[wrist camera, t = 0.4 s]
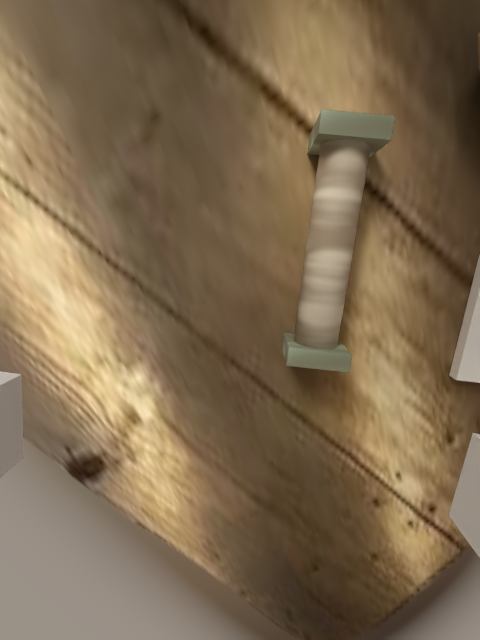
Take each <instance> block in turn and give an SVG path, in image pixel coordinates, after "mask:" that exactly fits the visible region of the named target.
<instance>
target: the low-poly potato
mask: <svg viewBox="0 0 480 640" xmlns="http://www.w3.org/2000/svg"><path fill="white" fill-rule="evenodd" d="M478 56H479V73H480V32H479V33H478Z"/></svg>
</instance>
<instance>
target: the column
mask: <svg viewBox="0 0 480 640" xmlns="http://www.w3.org/2000/svg"><path fill="white" fill-rule="evenodd" d="M395 117H396V116H389V115H378V114H366V113H355V112H344V111H333V110H321V112H320V114H319V117H318V119H317V121H316V123H315V125H314V127H313V129H312V131H311V134H310V138H309V146H308V153H307V154H311V155H319V161H318V168H317V175H316V182H315V189H314V196H313V204H312V211H311V218H310V225H309V232H308V240H307V247H306V254H305V261H304V268H303V276H302V283H301V290H300V297H299V304H298V311H297V319H296V326H295V333H294V334H292V333H284V335H283V343H282V350H283V354H284V357H285V361H286V365H287V366H294V367H303V368H312V369H321V370H330V371H339V372H349V371H350V366H351V360H352V354H351V353H350V352H349V351H348V350H347V349H346V347H345V346H344V345H343V344H342V343H341V342H340V341H339V340H338V339H339V333H340V327H341V321H342V315H343V309H344V303H345V297H346V291H347V285H348V279H349V274H350V268H351V262H352V256H353V250H354V244H355V238H356V232H357V226H358V220H359V215H360V209H361V203H362V197H363V191H364V185H365V179H366V173H367V167H368V161H369V158H370V157H371V156H372V155H374V154H375V153H376V152H377V151H378V150H380V149H381V148H382V147H383V146H385V145H386V144H387V143H388V142H389V141H391V139H392V133H393V128H394V122H395Z"/></svg>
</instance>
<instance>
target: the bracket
mask: <svg viewBox="0 0 480 640" xmlns="http://www.w3.org/2000/svg"><path fill="white" fill-rule="evenodd" d="M449 376H451V377H452V378H454V379H455V380H459V381H469V382H478V383H480V254H479V258H478V262H477V266H476V270H475V274H474V278H473V282H472V286H471V290H470V294H469V298H468V302H467V306H466V310H465V314H464V318H463V322H462V326H461V330H460V334H459V338H458V342H457V346H456V350H455V354H454V358H453V362H452V366H451V370H450V374H449Z"/></svg>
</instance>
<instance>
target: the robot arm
mask: <svg viewBox="0 0 480 640" xmlns="http://www.w3.org/2000/svg"><path fill="white" fill-rule="evenodd" d="M22 458H23V420H22V376H21V374H14V373H7V372H0V478H1V477H2V476H3V475H4V474H5V473H6V472H8V471H9V470H10V469H11V468H12V467H13V466H14V465H16V464H17V463H18V462H19V461H20V460H21V459H22ZM449 517H450V518H451V519H452V521H453V522H454V524H455V525H456V526H457V528H458V529H459V530H460V532H461V533H462V534H463V536H464V537H465V538H466V540H467V541H468V543H469V544H470V545H471V547H472V548H473V549H474V551H475V552H476V553H477V555H478V556H479V557H480V434H475V433H473V434H472V437H471V440H470V444H469V447H468V451H467V454H466V458H465V461H464V465H463V468H462V471H461V475H460V478H459V482H458V485H457V489H456V492H455V496H454V499H453V502H452V506H451V509H450V513H449Z"/></svg>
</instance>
